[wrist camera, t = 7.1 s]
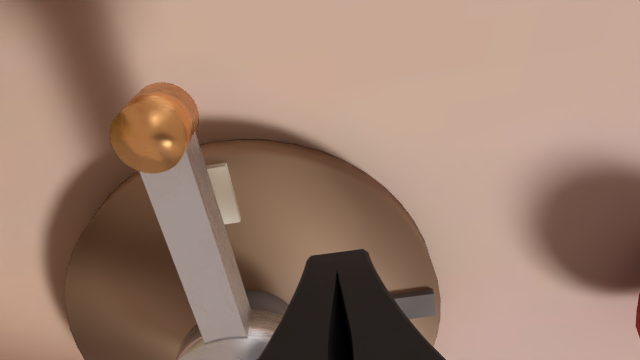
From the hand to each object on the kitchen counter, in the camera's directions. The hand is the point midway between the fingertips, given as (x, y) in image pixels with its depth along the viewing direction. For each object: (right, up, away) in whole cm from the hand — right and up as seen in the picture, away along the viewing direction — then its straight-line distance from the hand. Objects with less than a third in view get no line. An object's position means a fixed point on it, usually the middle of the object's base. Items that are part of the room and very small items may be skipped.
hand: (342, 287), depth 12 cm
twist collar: (-4, -1, +7) cm, 8 cm away
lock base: (-3, -3, +12) cm, 13 cm away
